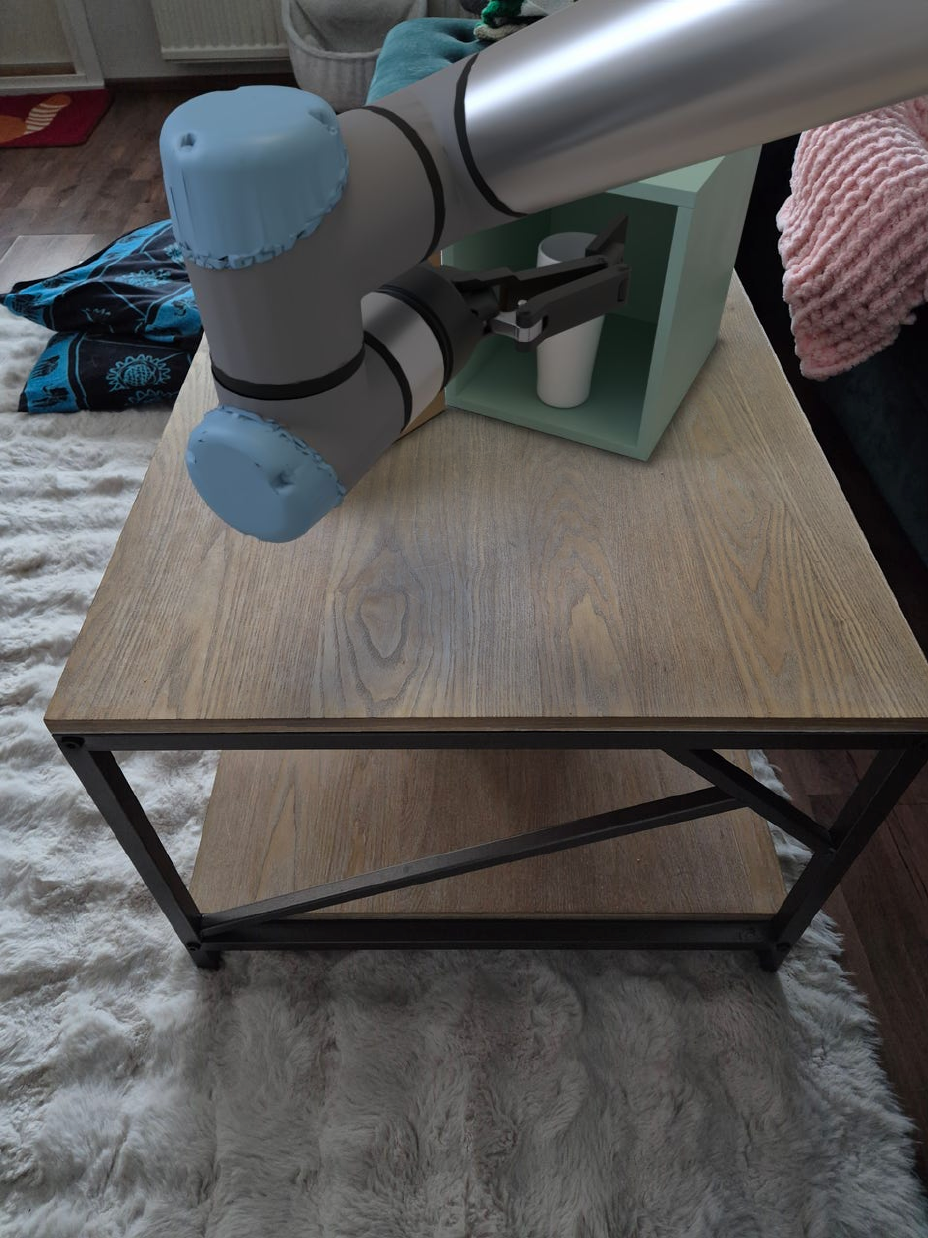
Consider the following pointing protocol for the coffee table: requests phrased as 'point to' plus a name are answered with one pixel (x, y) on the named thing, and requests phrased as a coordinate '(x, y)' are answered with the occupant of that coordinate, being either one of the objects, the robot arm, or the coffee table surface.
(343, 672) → the coffee table surface
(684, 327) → the box
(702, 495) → the coffee table surface
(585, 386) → the drinking glass
